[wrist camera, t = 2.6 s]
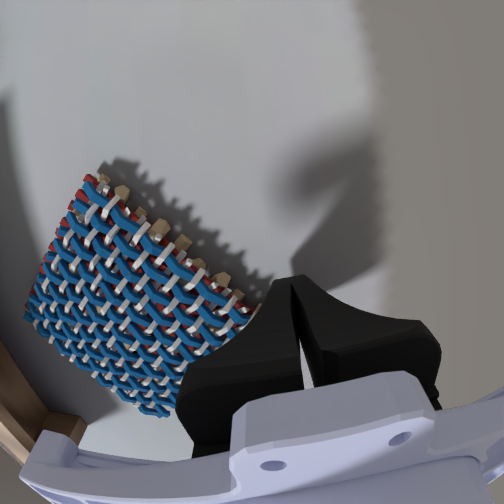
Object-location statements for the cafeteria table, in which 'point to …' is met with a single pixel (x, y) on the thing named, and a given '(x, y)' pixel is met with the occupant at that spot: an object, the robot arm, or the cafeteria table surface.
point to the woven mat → (130, 299)
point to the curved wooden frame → (27, 413)
